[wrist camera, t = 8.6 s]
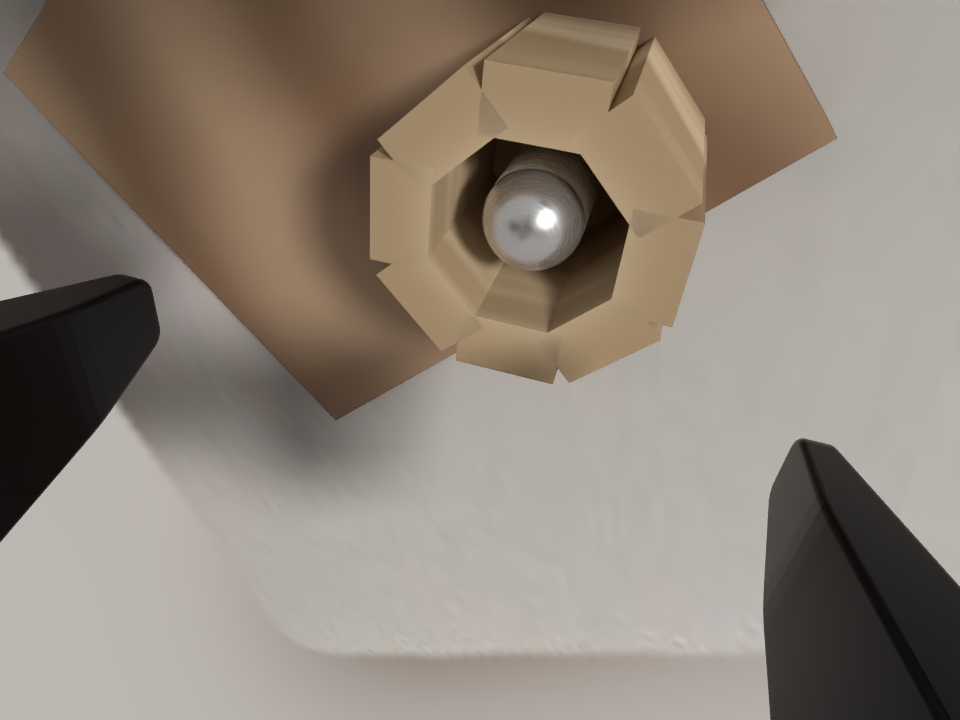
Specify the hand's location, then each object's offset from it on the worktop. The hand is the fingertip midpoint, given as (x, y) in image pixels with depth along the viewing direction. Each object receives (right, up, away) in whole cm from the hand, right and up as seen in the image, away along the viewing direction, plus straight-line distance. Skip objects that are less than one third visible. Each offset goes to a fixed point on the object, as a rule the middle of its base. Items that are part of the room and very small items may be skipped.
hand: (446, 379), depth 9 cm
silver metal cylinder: (+3, +5, +7) cm, 9 cm away
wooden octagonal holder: (+3, +5, +7) cm, 9 cm away
